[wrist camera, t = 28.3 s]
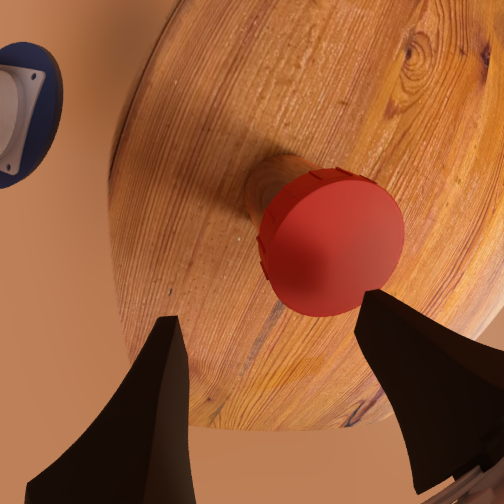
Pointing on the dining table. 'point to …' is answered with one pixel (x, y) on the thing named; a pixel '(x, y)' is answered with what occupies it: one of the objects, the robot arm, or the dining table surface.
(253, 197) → the jar
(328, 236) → the jar lid
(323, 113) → the dining table surface
